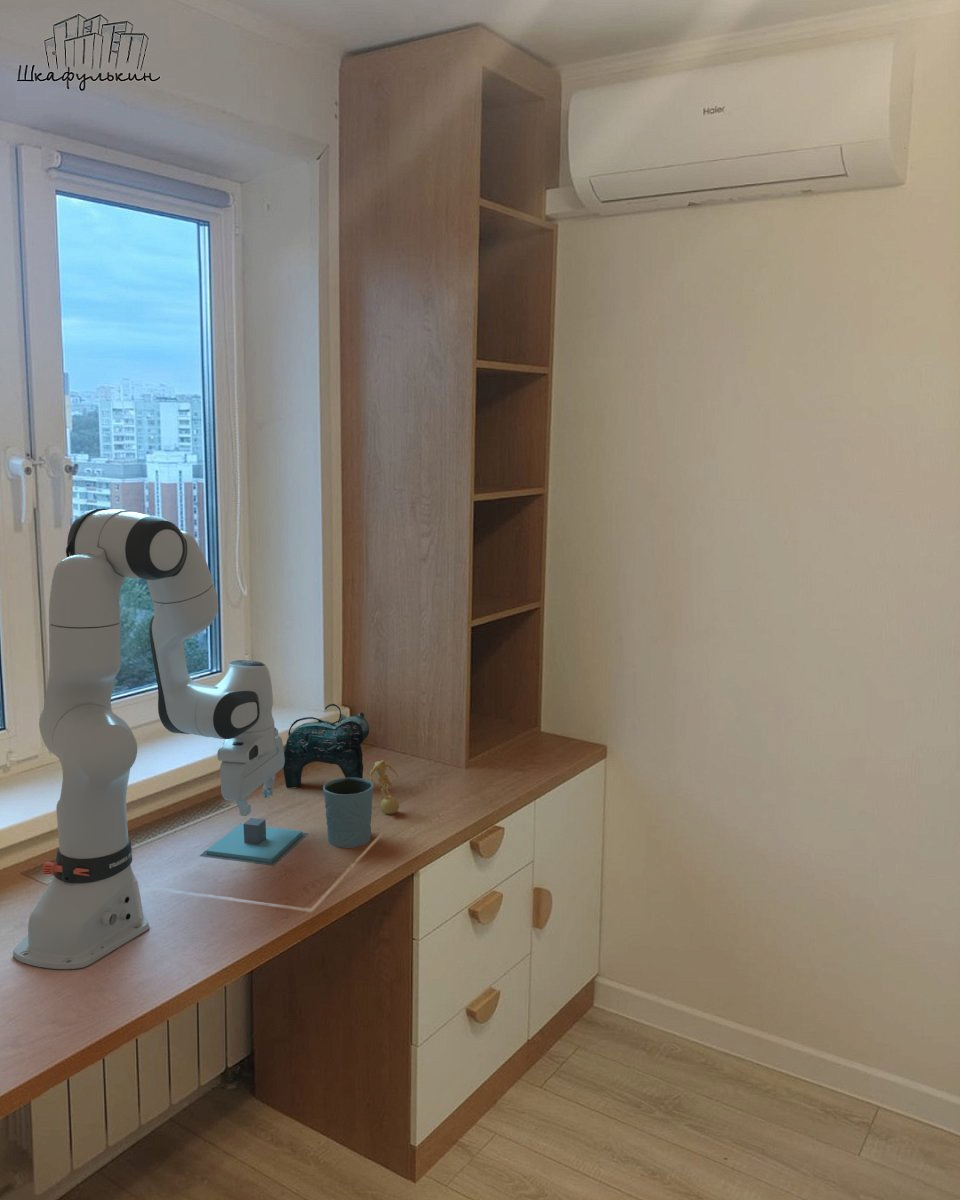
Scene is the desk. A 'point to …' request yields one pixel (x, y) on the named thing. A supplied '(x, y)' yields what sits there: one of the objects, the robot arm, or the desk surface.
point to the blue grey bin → (348, 811)
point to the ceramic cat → (326, 746)
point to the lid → (254, 842)
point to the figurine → (388, 803)
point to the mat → (260, 861)
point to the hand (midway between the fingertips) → (256, 805)
